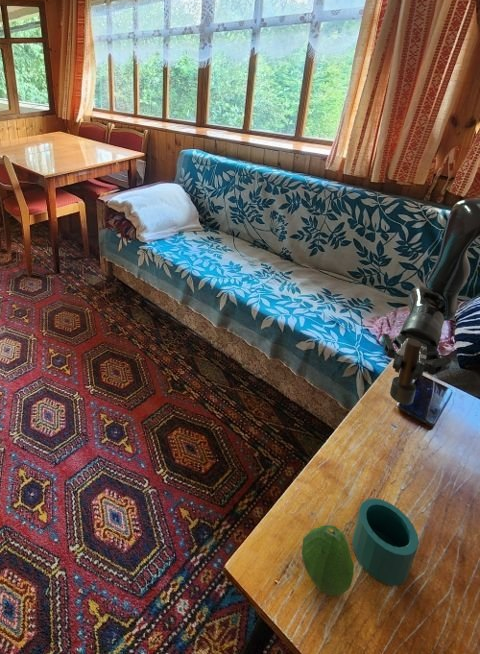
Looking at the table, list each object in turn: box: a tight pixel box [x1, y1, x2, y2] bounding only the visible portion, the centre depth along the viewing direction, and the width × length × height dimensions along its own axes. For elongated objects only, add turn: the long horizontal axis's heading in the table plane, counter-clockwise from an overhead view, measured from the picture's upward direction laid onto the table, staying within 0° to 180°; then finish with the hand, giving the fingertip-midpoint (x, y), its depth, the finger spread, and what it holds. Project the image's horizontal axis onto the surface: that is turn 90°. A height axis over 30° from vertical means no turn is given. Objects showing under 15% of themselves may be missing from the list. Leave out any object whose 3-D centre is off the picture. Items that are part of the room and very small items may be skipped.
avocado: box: [301, 524, 355, 597], centre depth 64 cm, size 8×8×12 cm
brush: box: [389, 338, 422, 406], centre depth 84 cm, size 4×4×16 cm
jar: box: [352, 497, 420, 587], centre depth 67 cm, size 9×9×9 cm
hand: (406, 372), depth 81 cm, fingers closed on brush, 2 cm apart
